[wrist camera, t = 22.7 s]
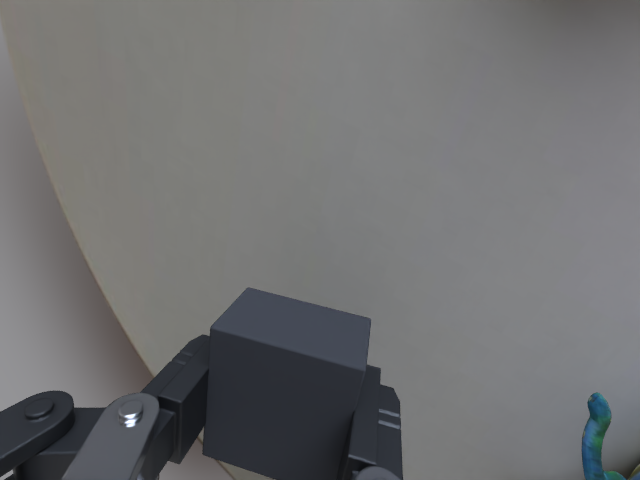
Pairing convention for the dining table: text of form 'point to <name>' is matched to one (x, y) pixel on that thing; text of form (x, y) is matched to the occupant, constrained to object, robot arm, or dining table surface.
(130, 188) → the dining table surface
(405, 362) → the dining table surface
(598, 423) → the decorative fish
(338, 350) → the pad
